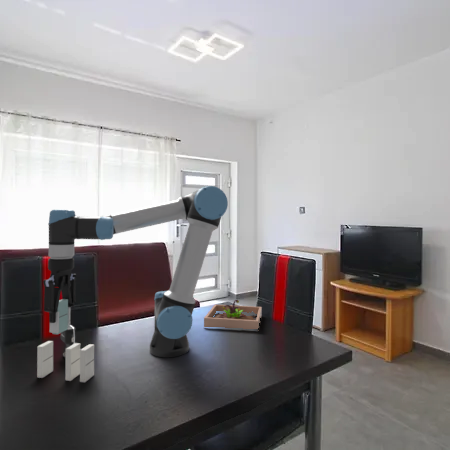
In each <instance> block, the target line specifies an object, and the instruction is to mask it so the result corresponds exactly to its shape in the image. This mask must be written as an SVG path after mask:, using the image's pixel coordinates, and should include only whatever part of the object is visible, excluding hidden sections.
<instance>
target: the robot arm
mask: <svg viewBox="0 0 450 450" xmlns="http://www.w3.org/2000/svg"><path fill="white" fill-rule="evenodd" d="M228 207H229V200H228V197H227V194H225V192H224V191H223V190H222V189H221V188H220V187H217V186H214V185H205V186H202V187H200V188H199V189H197V190H196V191H195V190H194V191H193V192H191V193H189V194H186V195H182V196H179V197H178V198H177V199H176V200H170V201H167V202H166V201H165V202H161V203H157V204H151V205H148V206H144V207H143V206H142V207H138V208H133V209H129V210H125V211H120V212H115V213H111V214H106V215H101V216H79V215H76V211H75V210H73V209H51V210H50V211H49V219H48V253H47V254H48V255H47V256H48V257H49V258H48V260H47V268H48V269H47V270H48V271H50V275H49V278H48V279H43V280H42V283H43V286H44V287H43V288H44V290H43V292H44V294H43V312H46V313H48V316H49V318H48V319H49V320H48V322H49V323H48V324H49V333H58V332H59V312H57V310H58V304H59V300H61V299H60V298H61V297H62V299H68V327H70V325H71V314H72V307H75V303H76V297H77V293H76V292H77V291H76V289H77V288H76V287H77V282H76V281H77V277H78V274H77V273H72V270H73V269H74V268H75V258H74V256H75V240H100V241H103V240H112V239H113V237H114V235H117V234H121V233H125V232H130V231H134V230H139V229H143V228H147V227H153V226H156V225H161V224H165V223H169V222H173V221H174V222H175V221H178V220H183V221H187V222H188V224H189V225H188V228H187V231H186V235H185V236H184V237H185V238H184V241H183V244H182V248H181V251H180V254H179V257H178V261H177V265H176V267H175V270H174V274H173V276H172V280H171V283H170V287H169V289H168V290H164V291H163V290H161V291H157V292H155V294H154V299H153V300H154V331H153V335H152V338H151V340H150V344H149V353H150V354H151V355H153V356H155V357H158V358H174V357H175V358H176V357H179V356H182V355H184V354H187V353H188V352H189V350H190V343H189V340H188V337H187V334H188V333H189V332H190V330H191V329H192V326H193V312H194V309H195V305H196V300H195V298H194V294H195V290H196V288H197V283H198V280H199V277H200V273H201V270H202V267H203V264H204V261H205V257H206V254H207V251H208V247H209V244H210V241H211V238H212V234H213V232H214V231H215V230H217V229H218V228H219V225H220V222H221V218H222V217H223V216H224V214H225V213H226V211H227V209H228ZM187 351H188V352H187Z"/></svg>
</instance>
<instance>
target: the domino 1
mask: <svg viewBox="0 0 450 450" xmlns="http://www.w3.org/2000/svg"><path fill="white" fill-rule="evenodd" d="M57 312H59V332H58V333H52V335H59V334H61V332H63V331H65V330H67V329H68V299H63V298H62V299H59V304H58V310H57Z"/></svg>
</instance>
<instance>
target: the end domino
mask: <svg viewBox="0 0 450 450" xmlns="http://www.w3.org/2000/svg"><path fill="white" fill-rule="evenodd" d="M36 348H37V354H36V355H37V357H36V361H37V363H36V368H37V371H36V376H37V378H39V379H40V378H41V379H43V378H45V377H46V376H48V375H49V374H51V373H52V372H54V340H47V341H45V342H43V343H41V344H39V345H38V346H37V347H36Z"/></svg>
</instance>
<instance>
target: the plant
mask: <svg viewBox="0 0 450 450" xmlns="http://www.w3.org/2000/svg"><path fill="white" fill-rule="evenodd" d="M236 303H237V304H239V303H240V300H239V299H235V300H234V301H233V304H232V305H233V307H231V306H230V305H229V304H224V305H225V306H224V307H223V309H225V308H226V306H229V308H230V310H229V309H228V311H226V310H224V311H225V312H226V313H223V314H216V315H215V317H212V318H226V319H242V320H256V318H254V316H246V315H244V314H242V313H241V312H242V311H243V310H240V308H239V307H235V304H236ZM236 308H238V309H236ZM238 311H239V312H238Z"/></svg>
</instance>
